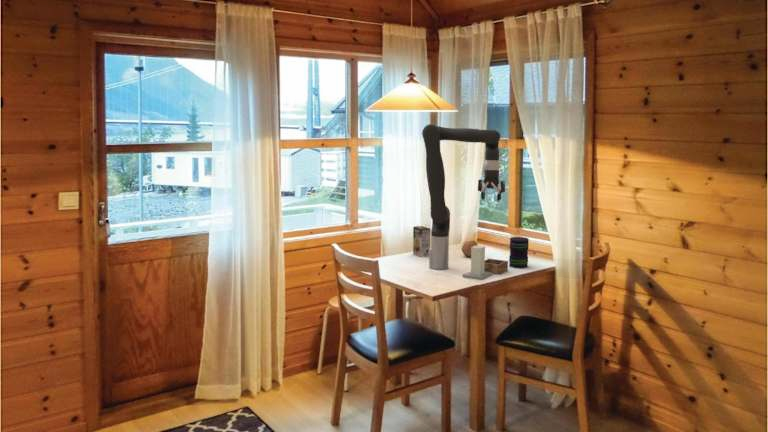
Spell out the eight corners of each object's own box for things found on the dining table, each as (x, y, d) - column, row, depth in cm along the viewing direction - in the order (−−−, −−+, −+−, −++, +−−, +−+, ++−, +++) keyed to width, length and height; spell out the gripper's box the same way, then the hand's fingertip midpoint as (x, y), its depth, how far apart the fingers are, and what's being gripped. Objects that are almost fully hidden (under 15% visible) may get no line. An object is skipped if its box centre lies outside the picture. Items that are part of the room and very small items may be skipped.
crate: (480, 271, 339) (480, 262, 339) (488, 267, 348) (489, 258, 347) (499, 274, 334) (499, 264, 333) (507, 270, 342) (507, 261, 341)
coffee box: (412, 254, 382) (412, 226, 380) (422, 253, 385) (422, 225, 383) (420, 257, 374) (421, 229, 372) (430, 256, 377) (430, 228, 375)
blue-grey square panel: (462, 277, 328) (462, 274, 328) (474, 272, 339) (474, 269, 338) (481, 279, 323) (481, 277, 323) (491, 274, 333) (492, 272, 333)
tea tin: (470, 273, 330) (471, 247, 328) (475, 271, 334) (475, 245, 332) (479, 275, 327) (480, 248, 325) (484, 273, 331) (485, 246, 329)
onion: (474, 260, 379) (481, 244, 379) (475, 259, 369) (482, 243, 370) (459, 254, 380) (465, 238, 381) (459, 253, 371) (466, 236, 371)
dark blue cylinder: (531, 266, 352) (532, 238, 350) (520, 269, 345) (521, 241, 343) (516, 263, 359) (517, 236, 357) (505, 265, 353) (506, 238, 351)
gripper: (476, 168, 341) (475, 199, 343) (501, 170, 333) (500, 201, 335) (482, 167, 347) (481, 198, 349) (507, 169, 339) (506, 200, 341)
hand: (490, 200), depth 342 cm, fingers open, 8 cm apart
